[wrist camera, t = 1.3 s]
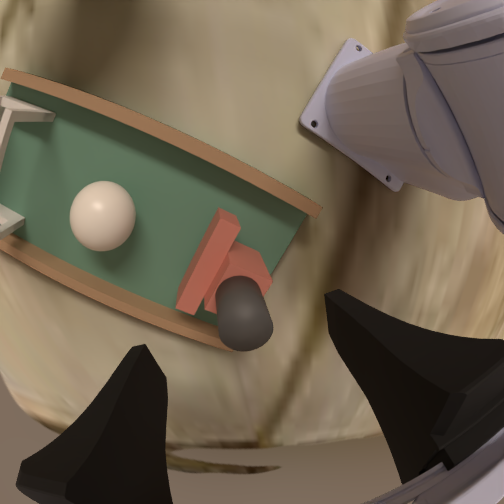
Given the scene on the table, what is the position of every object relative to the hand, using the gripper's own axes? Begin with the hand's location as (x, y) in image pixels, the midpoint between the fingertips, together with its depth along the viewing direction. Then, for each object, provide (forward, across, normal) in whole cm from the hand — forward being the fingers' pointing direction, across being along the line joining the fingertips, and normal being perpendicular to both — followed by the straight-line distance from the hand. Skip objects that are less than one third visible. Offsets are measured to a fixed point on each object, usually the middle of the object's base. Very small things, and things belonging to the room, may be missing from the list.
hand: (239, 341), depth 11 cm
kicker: (+8, 0, 0) cm, 8 cm away
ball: (+7, +6, -5) cm, 10 cm away
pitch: (+10, +6, -5) cm, 13 cm away
